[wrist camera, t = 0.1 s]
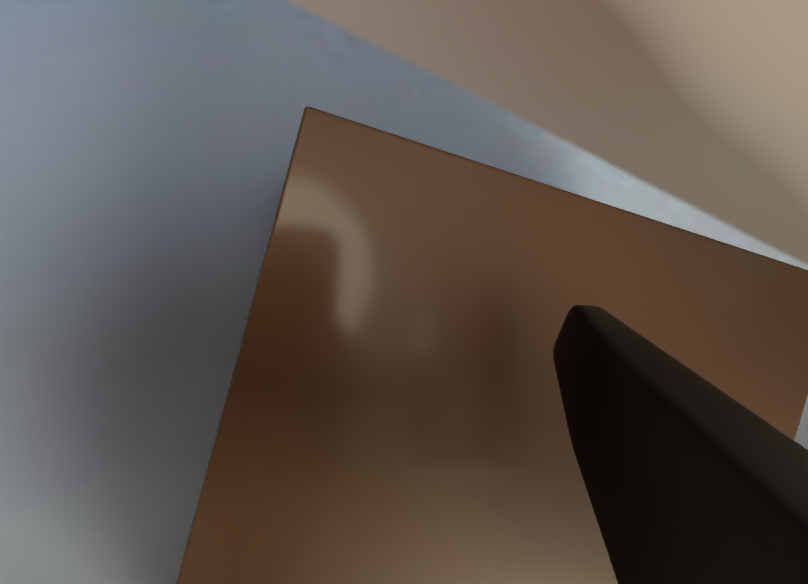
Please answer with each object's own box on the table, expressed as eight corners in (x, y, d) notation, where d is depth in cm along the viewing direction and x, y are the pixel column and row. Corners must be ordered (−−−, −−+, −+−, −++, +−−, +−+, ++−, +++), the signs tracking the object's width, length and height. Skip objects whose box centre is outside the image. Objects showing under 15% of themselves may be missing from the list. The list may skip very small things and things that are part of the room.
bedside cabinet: (516, 543, 26) (695, 778, 14) (212, 486, 23) (138, 720, 12) (595, 265, 25) (842, 281, 14) (297, 174, 23) (305, 104, 11)
